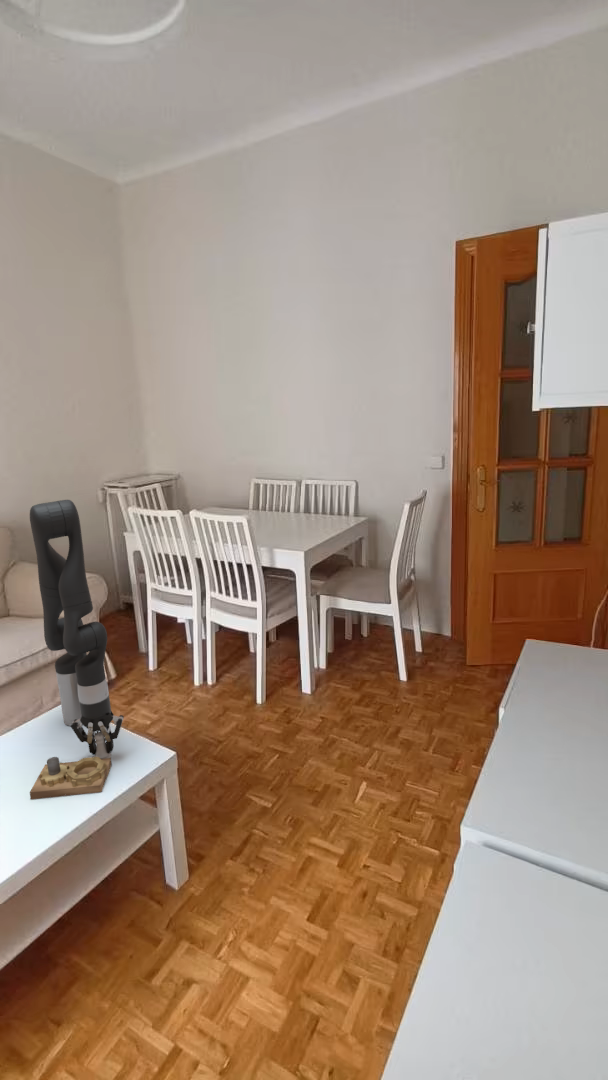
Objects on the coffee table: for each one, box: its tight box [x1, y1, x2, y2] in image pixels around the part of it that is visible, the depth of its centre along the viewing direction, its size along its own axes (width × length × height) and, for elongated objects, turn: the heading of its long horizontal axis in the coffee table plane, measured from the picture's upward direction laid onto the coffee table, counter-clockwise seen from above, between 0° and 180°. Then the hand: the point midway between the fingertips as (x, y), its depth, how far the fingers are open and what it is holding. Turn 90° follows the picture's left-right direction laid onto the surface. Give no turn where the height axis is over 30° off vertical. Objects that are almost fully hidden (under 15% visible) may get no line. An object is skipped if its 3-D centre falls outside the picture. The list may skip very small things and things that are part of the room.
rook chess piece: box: [93, 731, 112, 759], centre depth 150 cm, size 4×4×8 cm
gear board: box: [29, 756, 113, 800], centre depth 141 cm, size 11×17×7 cm, turn 96°
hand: (102, 752), depth 150 cm, fingers closed on rook chess piece, 3 cm apart
